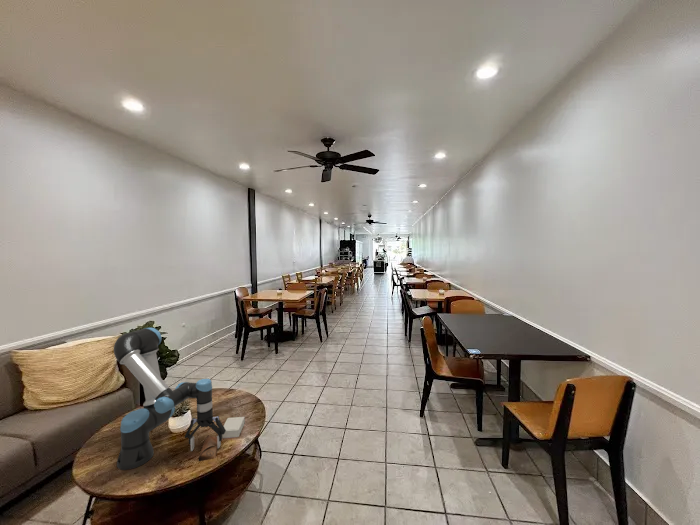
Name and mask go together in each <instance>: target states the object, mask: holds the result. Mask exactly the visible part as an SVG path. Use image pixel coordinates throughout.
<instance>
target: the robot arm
mask: <svg viewBox="0 0 700 525" xmlns="http://www.w3.org/2000/svg"><path fill="white" fill-rule="evenodd" d="M162 337H163V336H162V334H161V333H160V331H159V330H158V329H157V328H155V327H144V328H141V329H137V330H134V331H130V332H127V333H126V332H125V333H124V334H122V335H120V336H119V337H118V338H117V339H116V341H115V343H114V346H113V354H114V357H115V359H116V360H117V362H118V363H119V364H120V365H124V366H125V367H126V368H127V369H128V370H129V371H130V373H131V374H132V375H133V376H134V377H135V379H136V380H138V382H139V383H140V384H141V385H142V387H143V392H144V398H145V401H144V402H143V404H142V405H143V408H139V409H136V410H133V411H130V412H129V413H127V414H125V415H124V416H123V417H122V419H121V422H120V427H119V428H120V445H121V446H120V452H119V454H118V457H117V459H116V467H117V469H118V470H124V471H127V470H131V469H135V468H137V467H140V466H142V465H144V464H146V463H148V462H149V461H150V460H151V459H152V457H154V452H155V451H154V447H153V445H152V442H151V440H150V432H151V431H153V430H154V429H156V428H157V427H159V426H160V425H162V424H164V423H165V422H167V421H168V420H169V419H170V418H172V416H173V415H174V413H175V409H176V406H178V405H179V404H181V403H183V402H185V401H186V400H188V399H195V400H196V418H195V417H193V418H192V419H191V420H190V425H189V427H188V428H187V431H186V433H185V436H184V438H185V439H188V445H190V452H193V450H194V449H195V435H194V434H195V433H196V432H197V430H199V428H200V427H201V428H208V427H209V428H210V429H211V430H213V431H214V432H215V434H217V436H216V437H217V446H218V449H219V448H220V447H221V442H222V440H223V438H222V434H224V433H225V431H226V430H225V428H224V424H223V423H222V421H221V420H220V416H219V415H217V416H213V415H214V414H213V385H212V384H213V383H212V380H211V379H210V378H202V379H199V380H197V381H196V382H189V381H185V382H184V381H183V382H179V383H178V384H177V386H175V389H174V390H172V389H171V387H169V385H168V384H167V383H166V382H165V381H164V380H163V378H162V377H161V372H160V366H159V362H158V355H157V352H158V351H159V345H161V342H162ZM195 423H197V426H195V428H194V429H193V427H194V425H195ZM192 429H193V430H192Z"/></svg>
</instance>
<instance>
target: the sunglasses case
mask: <svg viewBox="0 0 700 525" xmlns="http://www.w3.org/2000/svg"><path fill="white" fill-rule="evenodd" d="M218 449H219V448H218V446H217V436H211V435H209V434H208V435H207V436H206V438H205V440H204V442H203V445H202V448H201V450H200V453H199V455H198V461H199V462H203V461H209V460H212V459H216V458H217V453H218Z"/></svg>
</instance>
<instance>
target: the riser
mask: <svg viewBox="0 0 700 525" xmlns="http://www.w3.org/2000/svg"><path fill="white" fill-rule="evenodd" d="M245 418H246V417H245V416H239V417H238V416H236V417H227V419H226V421H225V422H224V424H223V426H224V428H225V430H226V431H225V433H224V434H222V439H229V438H230V439H231V438H239V437H240V435H241V433H242V430H243V427H244V425H245V422H246V421H245Z"/></svg>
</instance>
